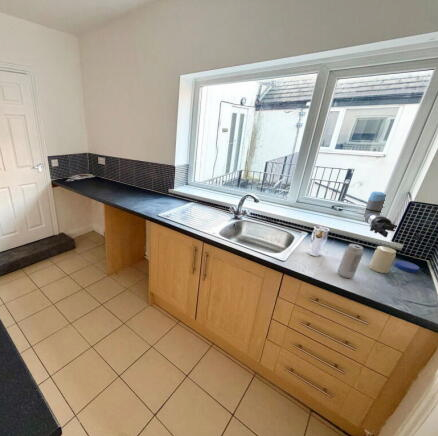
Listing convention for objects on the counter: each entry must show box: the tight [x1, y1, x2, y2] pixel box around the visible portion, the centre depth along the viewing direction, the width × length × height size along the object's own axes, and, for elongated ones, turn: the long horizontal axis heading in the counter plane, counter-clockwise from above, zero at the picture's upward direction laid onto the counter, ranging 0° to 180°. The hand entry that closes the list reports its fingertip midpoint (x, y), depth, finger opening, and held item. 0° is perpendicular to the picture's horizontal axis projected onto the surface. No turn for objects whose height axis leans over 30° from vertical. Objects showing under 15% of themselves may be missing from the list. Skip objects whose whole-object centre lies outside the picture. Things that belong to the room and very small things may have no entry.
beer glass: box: [307, 225, 331, 257], centre depth 128 cm, size 7×7×15 cm
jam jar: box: [368, 245, 397, 274], centre depth 115 cm, size 7×7×11 cm
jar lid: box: [394, 260, 420, 274], centre depth 118 cm, size 8×8×2 cm
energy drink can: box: [337, 243, 365, 279], centre depth 109 cm, size 6×6×15 cm
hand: (403, 236), depth 122 cm, fingers open, 13 cm apart
